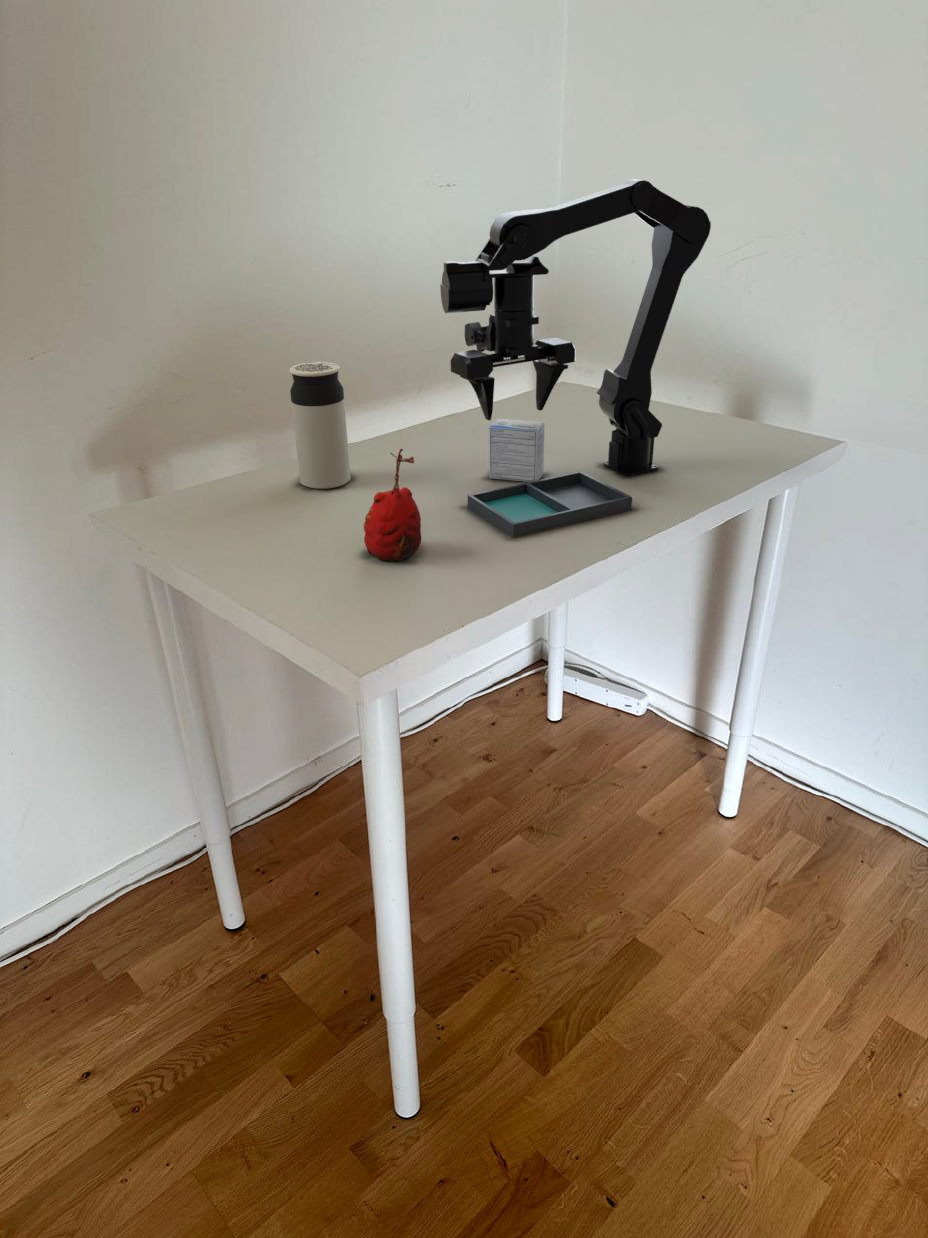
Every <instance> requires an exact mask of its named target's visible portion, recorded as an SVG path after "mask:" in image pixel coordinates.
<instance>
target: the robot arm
mask: <svg viewBox="0 0 928 1238" xmlns="http://www.w3.org/2000/svg"><path fill="white" fill-rule="evenodd" d="M631 214H634V215H635V216H636V217H637V218H639V220H641V221H642V222H643V223H645V224H646V225H648V226H649V227H651V228H652V229H653V233H652V239H651V260H652V261H651V262H652V263H651V265H652V266H651V270H650V273H649V275H648V276H649V277H648V278H647V279H648V280H647V282H646V285H645V289H644V292H643V295H642V297H641V301H640V304H639V307H638V310H637V313H636V317H635V319H634V323H633V326H632V328H631V331H630V334H629V338H628V341H627V344H626V347H625V350H624V352H623V353H624V354H623V357H622V358H621V359H622V360H621V361H620V363H619V364H618V365H617V366H616V368H615V369H614V370H611V369H609V368H606V369H605V370H604V372H603V377H602V383H601V385H600V387H599V389H598V390H597V392H596V394H597V395H598V396H599V398H598V406H599V407H600V409H601V412H602V413H603V414H604V415H605V416H606V417H607V418H608V421H609V424H610V425H611V426H613V427H614V428H615V430H611V438H610V441H609V442H608V443H609V444H608V456H607V457H608V460H607V461H604V462H603V466H604V467H606V468H609V469H611V470H612V471H614V472H617V473H619V474H621V475H623V476H624V477H631V476H635V475H640V474H645V473H649V472H654V471H658V470H659V465H656V464H654V463H653V461H654V460H653V459H654V448H655V438H658V437H659V435H660V432H661V429H662V428H663V423H662V422H661V421H660V419H658V418H657V417H656V416H655V415H654V414H653V413H652V412H651V411H650V405H651V399H652V394H653V390H652V389H653V385H652V368H653V366H654V363H655V360H656V357H657V354H658V351H659V349H660V346H661V342H662V339H663V336H664V334H665V330H666V327H667V324H668V321H669V318H670V315H671V312H672V309H673V306H674V304H675V301H676V297H677V296H678V295H677V294H678V291H679V288H680V285H681V283H682V279H683V278H684V276H685V274H686V272H687V271H688V270H689V269H690V267H691V266H692V265H693V264H694V263H695V261H696V260H697V259H698V258H699V256H700V254H701V252H702V250H703V248H704V246H705V244H706V242H707V240H708V238H709V237H710V233H711V228H712V222H711V220H710V219H709V218H710V217H709V215H708V214H707V212H706V211H705V209H703V208H701V207H699V206H695V205H694V206H693V205H687V204H685V203H684V204H683V203H682V202H681V201H679V200H677V199H676V198H674V197H671V195H668V194H666V193H664V192H663V191H661V190H660V189H658V188H657V187H655V186H654V185H653V184H652V183H651V182H650V181H648V180H645V179H637V178H633V179H628V180H626V181H625V182H624V183H621V184H619V185H616V186H613V187H610V188H607V189H603V190H601V191H598V192H594V193H592V194H588V195H585V196H583V197H579V198H575V199H573V200H570V201H567V202H564V203H561V204H558V205H554V206H551V207H547V208H535V209H523V210H514V211H506V212H503V213H501V214H499V215H498V216H496V217H495V218H494V219H493V221H492V224H491V226H490V229H489V238H488V240H487V241H486V243H485V244H484V246H483V247H482V249H481V250H480V252H479V254H478V255H477V257H476V258H475V261H460V262H459V261H454V260H450V261H444V262H443V271H442V275H441V283H440V284H439V285H440V286H439V287H440V299H441V305H442V309H443V312H444V314H454V313H455V314H457V313H470V312H484V311H485V310H486V308H487V306H490V305H491V304H492V302H493V304H494V305H493V308H494V310H493V313H492V314H489V317H488V325H486V326H482V325H481V322H479V321H475V322H469V323H466V324H465V325H464V340H465V344H466V346H467V347H474V346H476V349H471V350H463V351H457V352H454V353H453V355H452V357H451V359H450V372H451V373H453V374H454V375H458V376H459V377H460V378H462V379H464V380H467V381H468V382H469V384H470V385H471V387H472V389H473V390H474V393H475V395H476V397H477V401H478V403H479V405H480V408H481V411H482V413H483V416H484V419H485V420H487V421H492V417H493V411H494V396H495V395H494V394H495V377H493V376H491V374H492V372H493V371H494V368H498V367H504V366H510V365H517V364H523V363H528V362H529V363H530V362H532V364H533V367H534V370H535V373H536V375H535V376H536V378H535V379H536V380H535V405H536V406H535V407H536V410H538V411H540V412H541V411H543V410H544V408H545V406H546V404H547V401H548V400H549V397H550V395H551V393H552V391H553V389H554V387H555V386H556V384H557V382H558V381H559V379H560V377H561V376H562V374H563V372H564V371H565V370H568V369H569V364H570V363H575V362H576V360H577V359H576V358H577V349H576V347H575V345H574V343H573V342H572V341H569V340H565V339H562V338H559V337H549V338H543V339H537V340H536V341H534V334H535V333H534V332H535V331H534V329H535V325H539V324H540V322H539V321H540V316H538V315H535V276H544V275H548V274H549V273H550V269H548V267H546V266H545V265H544V264H543V263H542V262H541V260H540V257H539V256H537V255H536V254H538V253H540V252H542V251H543V250H545V249H547V248H548V247H550V246H551V245H552V244H553V243H555V242H556V241H558V240H560V239H561V238H563V237H565V236H568V235H569V236H570V235H571V234H574V233H577V232H581V231H583V230H586V229H590V228H592V227H595V226H599V225H601V224H604V223H607V222H610V221H613V220H616V219H621V218H623V217H625V216H628V215H631ZM527 259H528V260H527ZM524 260H527V261H524ZM484 351H488V352H494V353H489V354H487V353H484Z"/></svg>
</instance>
